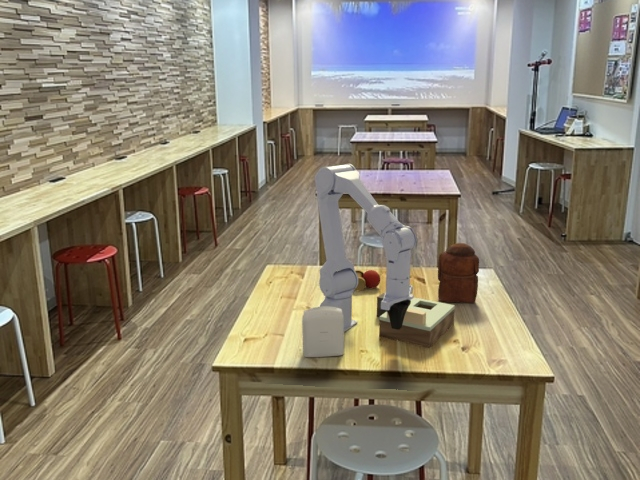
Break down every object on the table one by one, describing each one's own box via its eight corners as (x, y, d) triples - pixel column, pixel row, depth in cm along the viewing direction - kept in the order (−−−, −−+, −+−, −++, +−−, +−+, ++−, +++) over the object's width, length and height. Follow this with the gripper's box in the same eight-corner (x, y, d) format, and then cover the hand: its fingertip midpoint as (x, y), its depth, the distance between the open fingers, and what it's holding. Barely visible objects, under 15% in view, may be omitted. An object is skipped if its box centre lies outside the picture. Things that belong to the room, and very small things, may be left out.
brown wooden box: (429, 347, 155) (429, 331, 154) (379, 336, 162) (379, 320, 161) (453, 324, 170) (454, 309, 169) (406, 314, 177) (407, 299, 176)
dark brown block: (389, 319, 173) (390, 299, 172) (376, 316, 176) (377, 297, 174) (395, 315, 177) (396, 295, 175) (382, 312, 179) (383, 293, 177)
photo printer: (303, 359, 149) (302, 311, 146) (301, 351, 153) (301, 304, 150) (345, 357, 150) (345, 309, 147) (342, 349, 154) (343, 303, 151)
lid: (429, 331, 154) (430, 316, 153) (379, 319, 161) (380, 305, 160) (454, 308, 169) (455, 295, 168) (407, 299, 176) (408, 286, 175)
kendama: (325, 296, 196) (382, 289, 195) (323, 276, 196) (379, 269, 195) (326, 292, 204) (380, 285, 203) (324, 273, 203) (378, 266, 202)
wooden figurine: (474, 297, 191) (477, 241, 187) (477, 304, 185) (481, 246, 180) (435, 295, 192) (438, 240, 188) (437, 303, 186) (440, 245, 182)
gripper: (400, 287, 142) (398, 341, 145) (424, 271, 154) (422, 321, 157) (373, 282, 145) (372, 335, 149) (399, 266, 157) (397, 316, 161)
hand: (396, 328), depth 153 cm, fingers closed
